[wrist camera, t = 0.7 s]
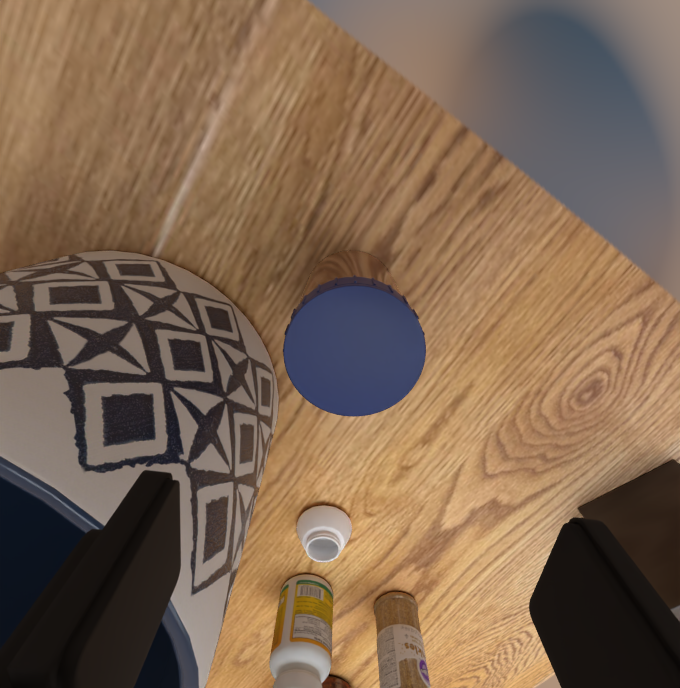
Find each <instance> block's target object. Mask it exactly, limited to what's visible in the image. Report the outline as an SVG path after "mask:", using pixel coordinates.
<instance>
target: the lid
mask: <svg viewBox="0 0 680 688" xmlns="http://www.w3.org/2000/svg"><path fill="white" fill-rule="evenodd" d="M291 318H292V319H291V321H290V324H288V326H287V329H286V331H285V335H286V336H285V341H284V349H283V352H284V354H283V355H284V363H285V367H286V370H287V373H288V375H289V378H290V380H291V381H292V383H293V385H294V386H295V388H296V389H297V390H298V392H299V393H300V394H301V395H302V396H303V397H304V398H305V399H306V400H308V401H309V402H310V403H312V404H313V405H315V406H317V407H318V408H320V409H322V410H325V411H327V412H330V413H333V414H337V415H343V416H365V415H371V414H374V413H378V412H381V411H383V410H386V409H388V408H390V407H391V406H393V405H395V404H396V403H398V402H399V401H400V400H402V399H403V398H404V397H405V396H406V395H407V394H408V393H409V392H410V391H411V389H412V388H413V387H414V385H415V384H416V382H417V381H418V379H419V377H420V375H421V372H422V369H423V366H424V362H425V356H426V345H425V338H424V335H425V334H424V332H423V330H422V328H421V326H420V323H419V321H418V319H419V318H418V316H417V314H416V312H415V310H414V309H413V310H412V309H411V307H410V305H409V304H408V302H407V300H406V298H405V296H404V295H403V296H401V295H400V294H399V293H398V292H397V291H396V290H394V289H393V288H392V287H391V285H386V284H384V283H382V282H380V281H377V280H374V278H372V279H370V278H365V277H356V275H353V277H344V278H339V279H337V277H336V278H335V280H332V281H329V282H326V283H324V284H322V285H320V284H319V285H318V287H317V288H316V289H314V290H313V291H311V292H310V293H309V294H308V295H307V296H306V295H305V296H304V298H303V300H302V301H301V302H300V304H299V305H298V307H297V308H296V309H294V310H293V313H292V316H291Z"/></svg>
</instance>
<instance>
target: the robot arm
mask: <svg viewBox="0 0 680 688" xmlns="http://www.w3.org/2000/svg"><path fill="white" fill-rule="evenodd" d="M180 569H181V531H180V482H179V481H178V480H173V478H172V474H171V473H169V472H160V471H151V470H145V471H143V472H142V473H141V474H140V476H139V477H138V479H137V480H136V481H135V483H134V484H133V486H132V487H131V489H130V490H129V492H128V493H127V494H126V496H125V497H124V499H123V500H122V502H121V503H120V505H119V506H118V508H117V509H116V510H115V512H114V513H113V515H112V516H111V518H110V519H109V521H108V522H107V523H106V525H105V526H104V528H103V529H102V530H101V529H91V530H90V531H88V532H87V533H86V534H85V535H84V536H83V537H82V538H81V540H80V541H79V542H78V544H77V545H76V546H75V548H74V549H73V551H72V552H71V553H70V555H69V556H68V557H67V559H66V560H65V562H64V563H63V564H62V566H61V567H60V568H59V570H58V571H57V572H56V574H55V575H54V577H53V578H52V579H51V581H50V582H49V583H48V585H47V586H46V588H45V589H44V590H43V592H42V593H41V594H40V596H39V597H38V598H37V600H36V601H35V603H34V604H33V605H32V607H31V608H30V609H29V611H28V612H27V613H26V615H25V616H24V618H23V619H22V620H21V622H20V623H19V624H18V626H17V627H16V629H15V630H14V631H13V633H12V634H11V635H10V637H9V638H8V639H7V641H6V642H5V644H4V645H3V646H2V648H1V649H0V688H134V686H135V683H136V681H137V679H138V676H139V674H140V671H141V669H142V666H143V664H144V662H145V659H146V657H147V654H148V652H149V649H150V647H151V645H152V642H153V640H154V637H155V635H156V633H157V630H158V628H159V625H160V623H161V620H162V618H163V616H164V613H165V611H166V608H167V606H168V603H169V601H170V599H171V596H172V594H173V591H174V589H175V586H176V584H177V581H178V578H179V574H180ZM529 610H530V615H531V618H532V621H533V623H534V625H535V628H536V630H537V632H538V635H539V637H540V639H541V642H542V644H543V646H544V649H545V651H546V653H547V655H548V658H549V660H550V662H551V665H552V667H553V669H554V672H555V674H556V676H557V679H558V681H559V683H560V686H561V688H680V622H679V620H678V619H677V618H676V616H675V615H674V614H673V612H672V611H671V610H670V609H669V607H668V606H667V605H666V603H665V602H664V601H663V599H662V598H661V597H660V595H659V594H658V593H657V591H656V590H655V589H654V588H653V586H652V585H651V584H650V582H649V581H648V580H647V578H646V577H645V576H644V574H643V573H642V572H641V571H640V569H639V568H638V567H637V565H636V564H635V563H634V561H633V560H632V559H631V557H630V556H629V555H628V554H627V552H626V551H625V550H624V548H623V547H622V546H621V544H620V543H619V542H618V540H617V539H616V538H615V537H614V535H613V534H612V533H611V531H610V530H609V529H608V527H607V526H606V525H605V524H604V523H603V522H602V521H600V520H594V519H585V518H572V519H570V521H569V522H568V523H565V524H564V525H563V526H562V528H561V531H560V533H559V535H558V537H557V540H556V542H555V544H554V547H553V549H552V551H551V553H550V556H549V558H548V560H547V563H546V565H545V567H544V569H543V572H542V574H541V576H540V578H539V581H538V583H537V585H536V588H535V590H534V592H533V594H532V597H531V599H530V603H529Z"/></svg>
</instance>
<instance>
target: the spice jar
mask: <svg viewBox="0 0 680 688" xmlns="http://www.w3.org/2000/svg"><path fill="white" fill-rule="evenodd" d="M374 613H375V616H376V628H377V653H378V666H379V680H380V688H430V681H429V675H428V669H427V663H426V657H425V651H424V645H423V639H422V635H421V630H420V625H419V618H418V606H417V603H416V601H415V600H414V598H413V597H411V596H410V595H408V594H406V593H402V592H390V593H387V594H385V595H383V596H381V597H380V598H379V599H378V600H377V601H376V603H375V605H374Z"/></svg>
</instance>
